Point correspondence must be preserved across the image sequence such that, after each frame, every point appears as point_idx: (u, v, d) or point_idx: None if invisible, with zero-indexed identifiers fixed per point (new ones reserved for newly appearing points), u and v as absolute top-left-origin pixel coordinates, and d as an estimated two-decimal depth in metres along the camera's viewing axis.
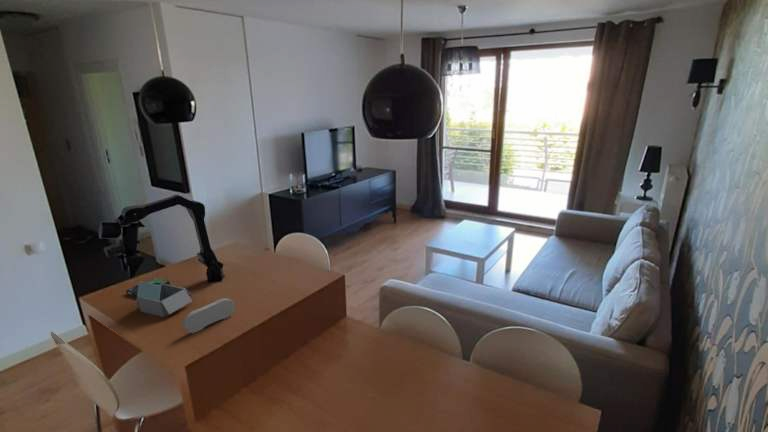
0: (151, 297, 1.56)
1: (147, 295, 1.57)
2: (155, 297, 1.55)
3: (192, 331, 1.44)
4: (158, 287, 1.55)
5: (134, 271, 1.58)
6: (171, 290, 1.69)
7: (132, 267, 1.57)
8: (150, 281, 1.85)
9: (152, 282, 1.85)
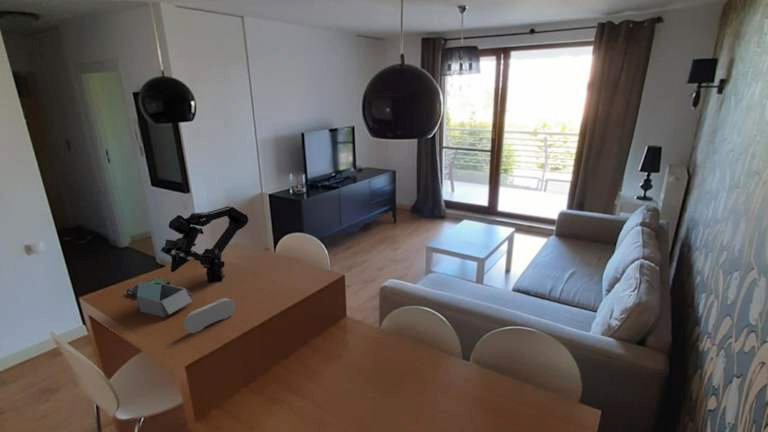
0: (151, 297, 1.56)
1: (147, 295, 1.57)
2: (155, 297, 1.55)
3: (192, 331, 1.44)
4: (158, 287, 1.55)
5: (178, 266, 1.68)
6: (171, 290, 1.69)
7: (178, 262, 1.68)
8: (151, 281, 1.85)
9: (152, 282, 1.84)
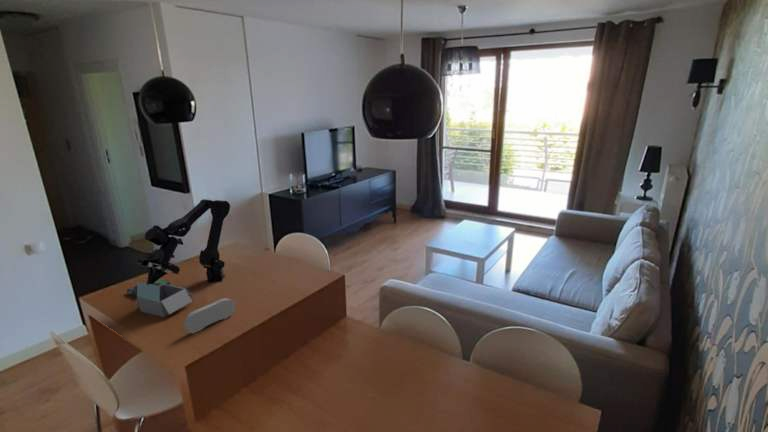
0: (151, 297, 1.56)
1: (146, 295, 1.57)
2: (155, 297, 1.55)
3: (192, 331, 1.44)
4: (157, 287, 1.55)
5: (155, 280, 1.58)
6: (171, 290, 1.69)
7: (156, 275, 1.58)
8: None
9: None
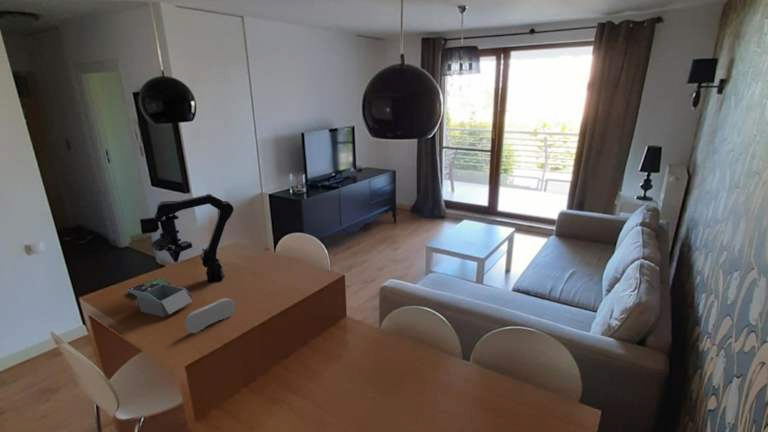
0: (150, 299, 1.56)
1: (145, 297, 1.57)
2: (153, 299, 1.55)
3: (193, 331, 1.44)
4: (148, 295, 1.51)
5: (178, 256, 1.78)
6: (171, 290, 1.69)
7: (175, 252, 1.76)
8: (153, 281, 1.85)
9: (154, 282, 1.84)
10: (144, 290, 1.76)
